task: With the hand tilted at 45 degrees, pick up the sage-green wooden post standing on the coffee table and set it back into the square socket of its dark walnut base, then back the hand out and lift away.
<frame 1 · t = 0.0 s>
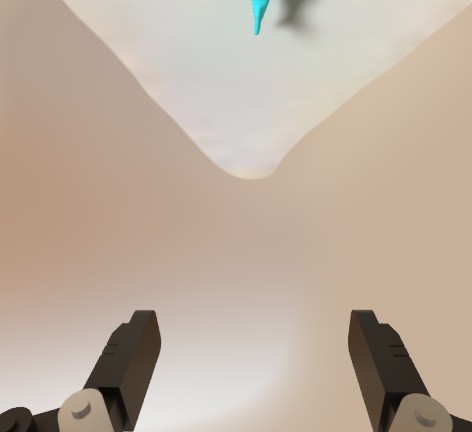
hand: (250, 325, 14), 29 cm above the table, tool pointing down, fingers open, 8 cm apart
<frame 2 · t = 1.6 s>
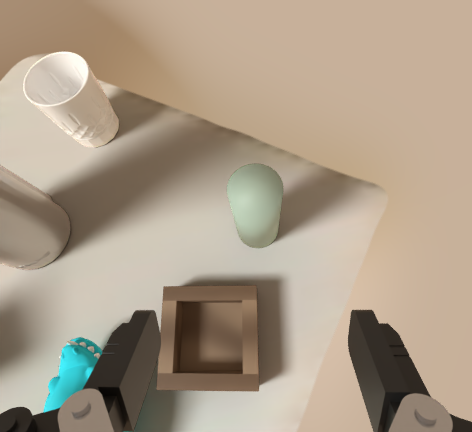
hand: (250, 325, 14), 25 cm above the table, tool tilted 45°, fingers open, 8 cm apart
toy shark: (107, 424, 35), on the table
socket base: (213, 335, 37), on the table
white cup: (97, 128, 48), on the table
post: (257, 228, 40), on the table
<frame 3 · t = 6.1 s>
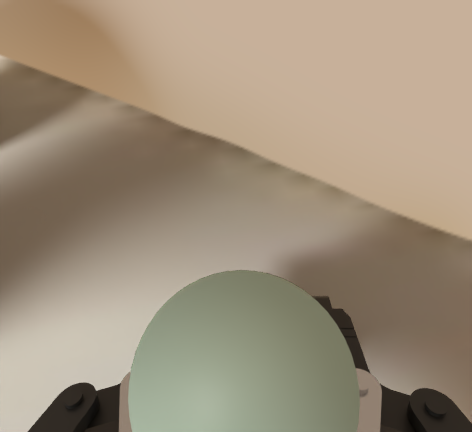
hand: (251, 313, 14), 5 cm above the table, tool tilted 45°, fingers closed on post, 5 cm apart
post: (256, 352, 18), on the table, touching gripper
when the fingers open (7 cm above the table, at t = 12.2 s): post drops 1 cm, resting on socket base.
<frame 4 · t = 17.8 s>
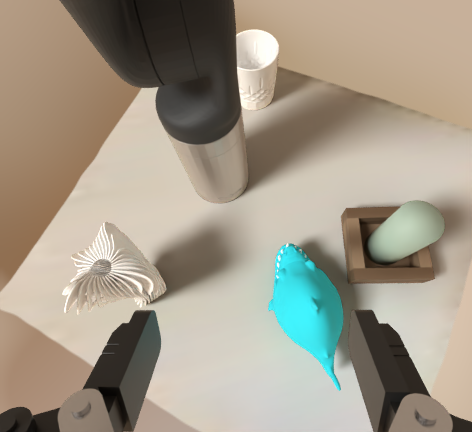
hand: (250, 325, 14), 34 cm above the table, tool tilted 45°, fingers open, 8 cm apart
toy shark: (305, 312, 46), on the table
socket base: (380, 248, 47), on the table
white cup: (254, 95, 58), on the table
post: (382, 248, 47), point 1 cm above the table, touching socket base
shell sculpture: (147, 285, 49), on the table
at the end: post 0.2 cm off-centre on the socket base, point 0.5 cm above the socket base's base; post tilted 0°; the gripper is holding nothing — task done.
